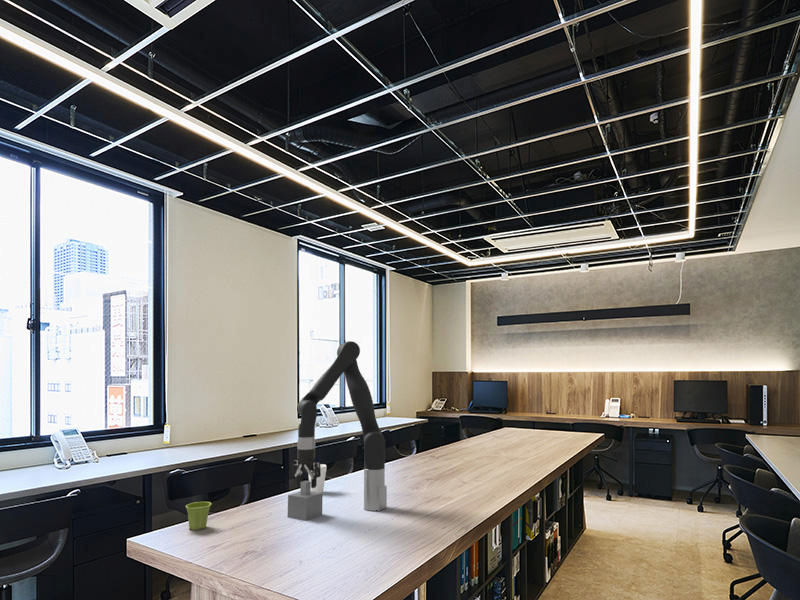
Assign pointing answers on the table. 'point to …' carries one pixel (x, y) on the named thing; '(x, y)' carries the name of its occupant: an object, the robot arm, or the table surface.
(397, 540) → the table surface
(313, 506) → the grey block with knob
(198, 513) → the plant pot
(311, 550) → the table surface
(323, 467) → the foam cup
